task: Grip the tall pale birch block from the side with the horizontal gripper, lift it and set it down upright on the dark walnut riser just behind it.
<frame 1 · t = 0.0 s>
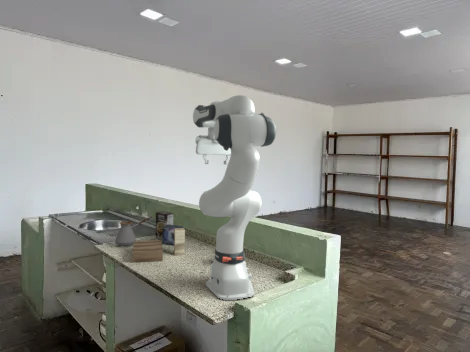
hand: (216, 164, 161), 48 cm above the counter, tool pointing down, fingers open, 8 cm apart
birch block: (179, 253, 172), on the counter
coffee pot: (134, 244, 187), on the counter
coffee box: (164, 238, 201), on the counter
small box: (172, 244, 189), on the counter
walnut riser: (147, 255, 167), on the counter
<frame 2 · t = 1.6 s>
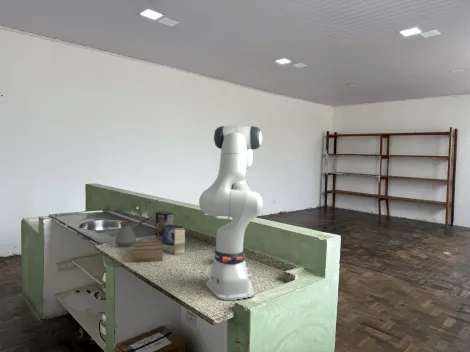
hand: (202, 211, 173), 22 cm above the counter, tool horizontal, fingers open, 8 cm apart
nothing on the counter moved.
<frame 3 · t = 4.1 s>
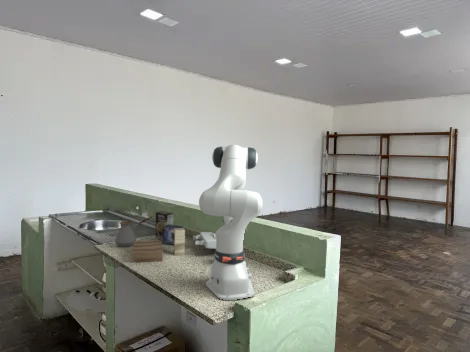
hand: (193, 240, 173), 7 cm above the counter, tool horizontal, fingers open, 8 cm apart
nothing on the counter moved.
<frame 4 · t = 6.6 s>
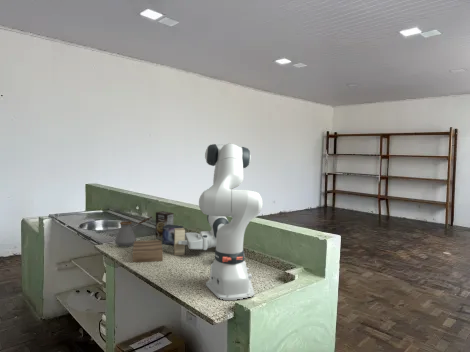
hand: (177, 240, 171), 7 cm above the counter, tool horizontal, fingers closed on birch block, 5 cm apart
birch block: (179, 253, 172), on the counter, touching gripper
everything else where it was.
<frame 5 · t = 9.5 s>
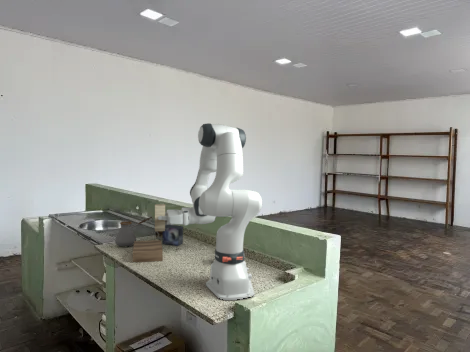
hand: (158, 216, 168), 20 cm above the counter, tool horizontal, fingers closed on birch block, 5 cm apart
birch block: (159, 229, 168), point 13 cm above the counter, touching gripper
everything else where it was.
when the fingers open (13 cm above the counter, at t = 12.4 s): birch block drops 1 cm, resting on walnut riser.
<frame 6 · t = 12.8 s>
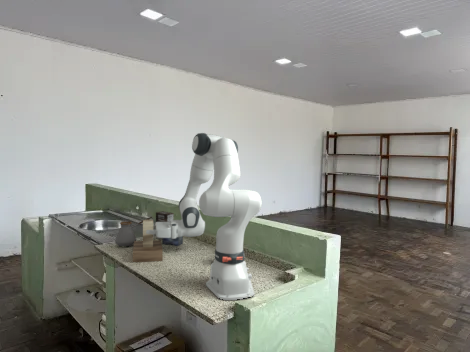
hand: (146, 229, 166), 13 cm above the counter, tool horizontal, fingers open, 8 cm apart
birch block: (147, 245, 167), point 5 cm above the counter, touching walnut riser
everything else where it was.
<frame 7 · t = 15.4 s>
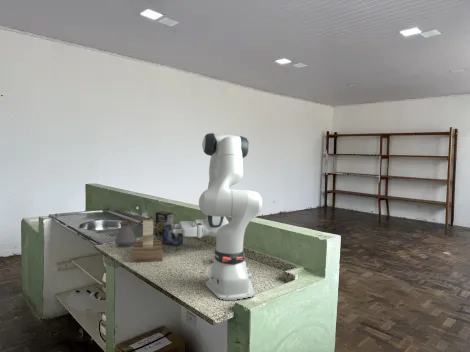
hand: (172, 228, 170), 14 cm above the counter, tool horizontal, fingers open, 8 cm apart
nothing on the counter moved.
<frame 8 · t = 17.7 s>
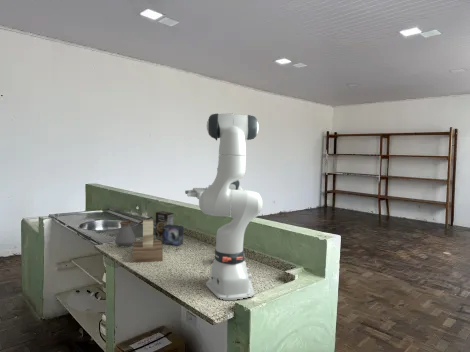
hand: (186, 193, 170), 32 cm above the counter, tool horizontal, fingers open, 8 cm apart
nothing on the counter moved.
at the end: birch block inside the target area on the walnut riser (0.0 cm from its centre), point 5.0 cm above the walnut riser's base; birch block tilted 0°; the gripper is holding nothing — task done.
